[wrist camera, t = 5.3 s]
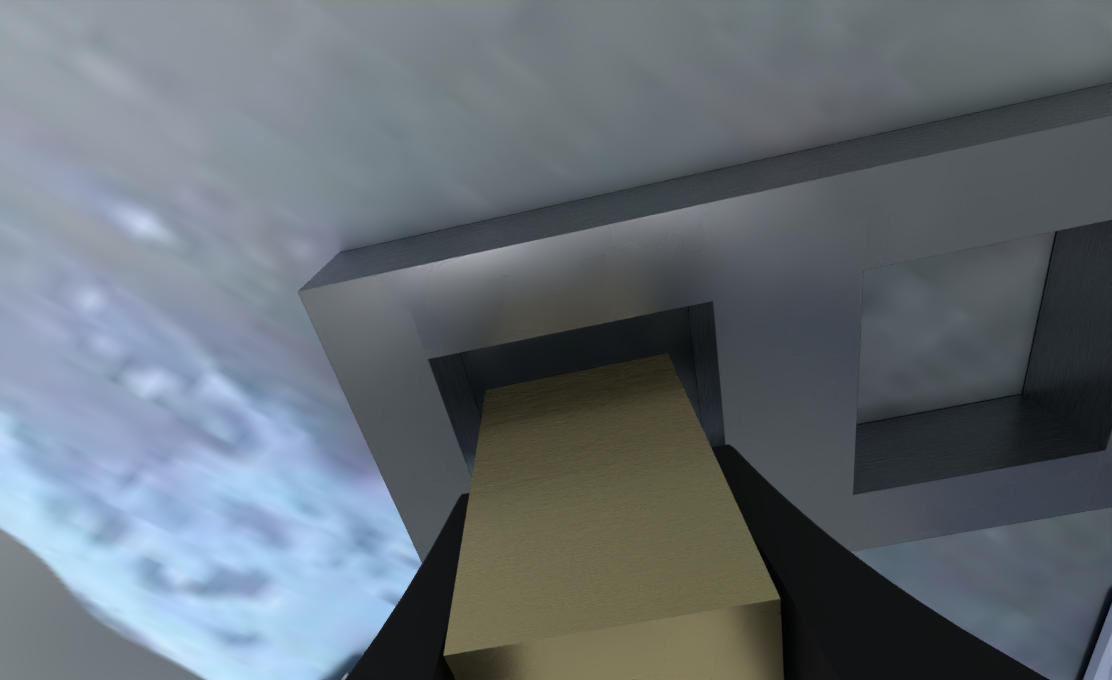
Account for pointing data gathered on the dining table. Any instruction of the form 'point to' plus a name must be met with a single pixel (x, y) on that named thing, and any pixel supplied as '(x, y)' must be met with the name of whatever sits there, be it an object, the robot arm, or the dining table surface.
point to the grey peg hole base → (769, 320)
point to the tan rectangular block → (606, 540)
